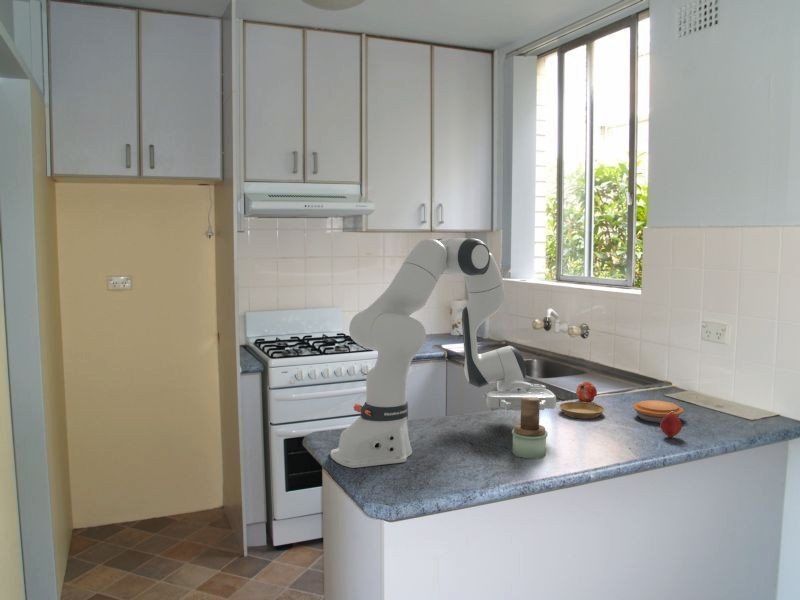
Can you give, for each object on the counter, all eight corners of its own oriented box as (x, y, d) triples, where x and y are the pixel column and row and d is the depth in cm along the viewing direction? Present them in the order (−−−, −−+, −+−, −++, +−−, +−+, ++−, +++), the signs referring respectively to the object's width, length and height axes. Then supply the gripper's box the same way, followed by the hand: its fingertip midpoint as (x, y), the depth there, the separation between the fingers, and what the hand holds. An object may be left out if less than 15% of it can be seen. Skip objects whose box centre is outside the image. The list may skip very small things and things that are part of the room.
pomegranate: (581, 404, 247) (566, 390, 243) (593, 388, 248) (577, 374, 243) (595, 411, 241) (580, 397, 236) (607, 394, 241) (591, 380, 237)
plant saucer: (572, 406, 236) (572, 399, 236) (612, 414, 226) (612, 406, 226) (550, 414, 226) (550, 407, 225) (591, 423, 216) (591, 415, 215)
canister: (527, 461, 179) (527, 439, 179) (504, 451, 188) (504, 430, 187) (554, 455, 184) (554, 433, 184) (530, 445, 193) (531, 425, 192)
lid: (528, 438, 180) (528, 404, 179) (507, 430, 187) (508, 397, 186) (551, 433, 184) (552, 400, 183) (531, 426, 191) (531, 394, 190)
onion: (668, 441, 197) (669, 414, 196) (655, 435, 202) (656, 409, 202) (685, 439, 198) (686, 413, 198) (672, 434, 204) (673, 408, 203)
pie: (674, 412, 228) (675, 398, 228) (689, 426, 213) (690, 410, 212) (627, 411, 230) (628, 397, 229) (639, 424, 214) (639, 409, 214)
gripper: (482, 384, 204) (488, 395, 191) (550, 385, 204) (561, 396, 191) (482, 405, 205) (488, 417, 191) (549, 405, 205) (560, 418, 191)
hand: (525, 407), depth 191 cm, fingers open, 8 cm apart
